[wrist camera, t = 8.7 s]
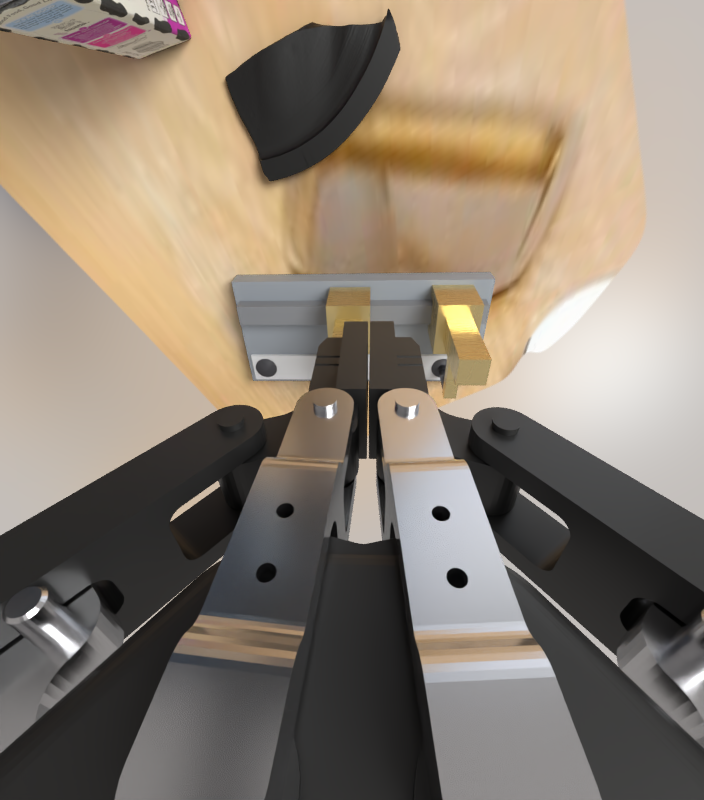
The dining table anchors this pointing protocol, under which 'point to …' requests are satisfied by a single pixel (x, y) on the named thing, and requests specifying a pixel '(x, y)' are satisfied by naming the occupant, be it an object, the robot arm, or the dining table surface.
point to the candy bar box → (99, 23)
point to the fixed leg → (458, 336)
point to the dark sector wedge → (312, 91)
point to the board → (322, 290)
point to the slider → (347, 308)
